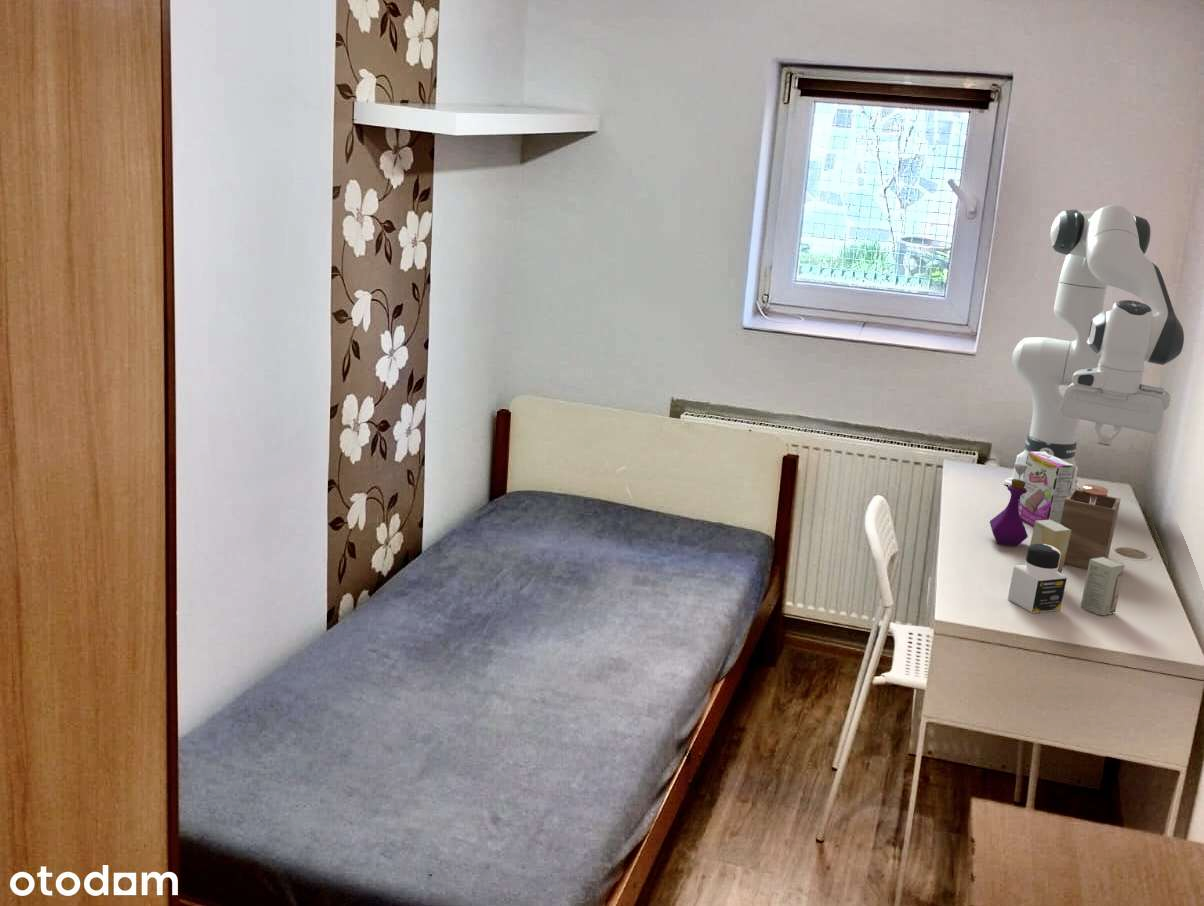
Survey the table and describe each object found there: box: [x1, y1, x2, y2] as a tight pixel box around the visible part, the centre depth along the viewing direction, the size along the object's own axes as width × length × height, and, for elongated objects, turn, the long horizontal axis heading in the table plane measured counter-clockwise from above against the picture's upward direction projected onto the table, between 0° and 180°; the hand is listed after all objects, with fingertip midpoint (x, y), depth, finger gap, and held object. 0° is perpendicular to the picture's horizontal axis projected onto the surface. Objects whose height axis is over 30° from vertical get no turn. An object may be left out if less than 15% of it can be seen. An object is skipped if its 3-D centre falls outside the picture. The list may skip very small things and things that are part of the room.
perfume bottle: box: [989, 463, 1029, 548], centre depth 275 cm, size 8×8×18 cm
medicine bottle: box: [1007, 544, 1068, 614], centre depth 241 cm, size 7×7×12 cm
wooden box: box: [1060, 489, 1122, 571], centre depth 268 cm, size 10×10×14 cm
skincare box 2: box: [1080, 557, 1125, 616], centre depth 242 cm, size 5×4×10 cm
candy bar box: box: [1018, 451, 1075, 528], centre depth 289 cm, size 11×5×16 cm, turn 20°
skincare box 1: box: [1029, 520, 1071, 574], centre depth 254 cm, size 6×4×12 cm
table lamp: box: [1081, 483, 1109, 505], centre depth 267 cm, size 8×8×13 cm
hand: (1104, 444), depth 263 cm, fingers closed
